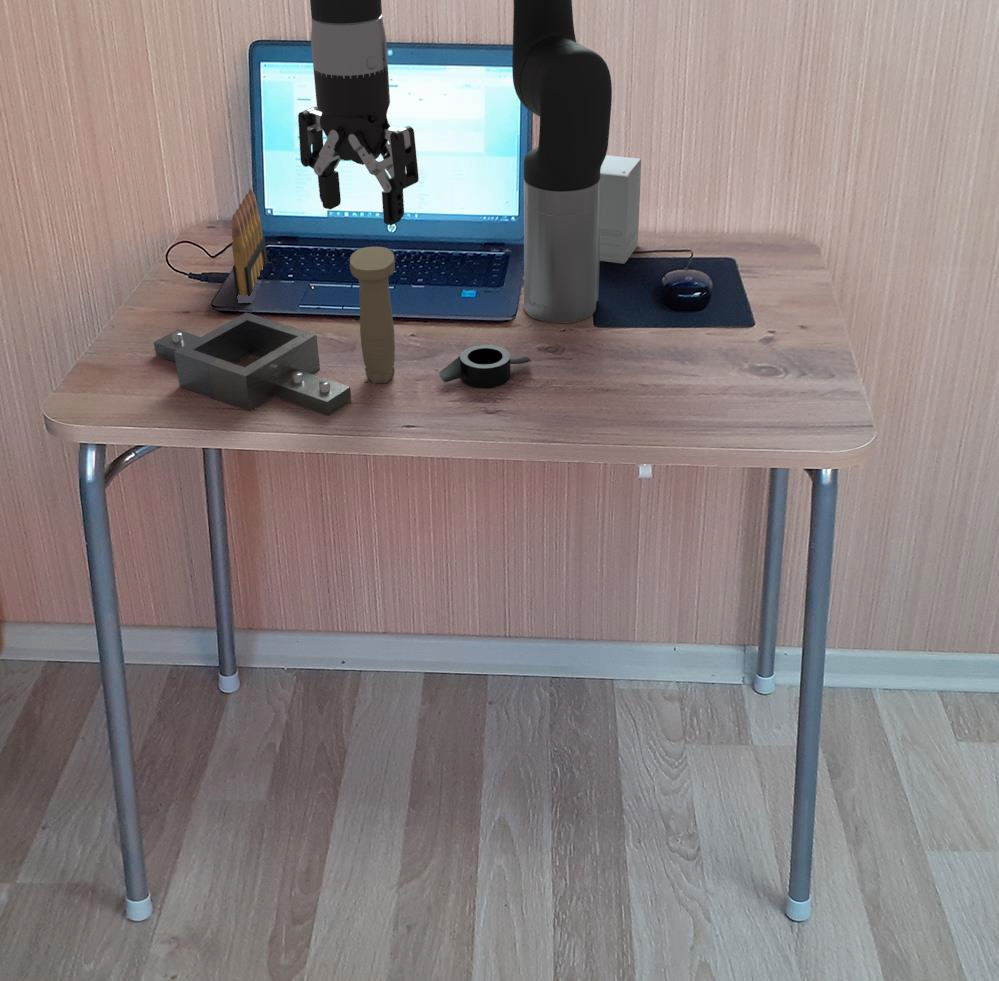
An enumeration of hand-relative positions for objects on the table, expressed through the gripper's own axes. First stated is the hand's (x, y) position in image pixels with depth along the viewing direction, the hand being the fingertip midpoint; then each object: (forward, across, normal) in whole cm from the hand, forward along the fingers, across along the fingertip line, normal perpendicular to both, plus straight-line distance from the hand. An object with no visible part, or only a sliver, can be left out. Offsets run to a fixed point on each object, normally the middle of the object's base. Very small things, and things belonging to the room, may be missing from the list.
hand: (361, 214), depth 141 cm
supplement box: (+20, -4, -47) cm, 51 cm away
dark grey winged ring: (+21, -10, -8) cm, 24 cm away
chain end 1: (+20, +19, +8) cm, 29 cm away
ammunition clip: (+20, +30, -11) cm, 38 cm away
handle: (+20, 0, 0) cm, 20 cm away
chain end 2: (+20, +6, +8) cm, 22 cm away
